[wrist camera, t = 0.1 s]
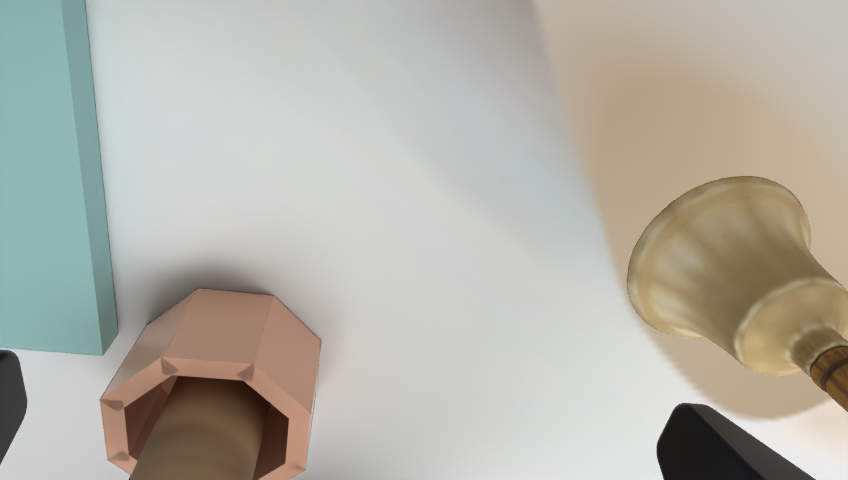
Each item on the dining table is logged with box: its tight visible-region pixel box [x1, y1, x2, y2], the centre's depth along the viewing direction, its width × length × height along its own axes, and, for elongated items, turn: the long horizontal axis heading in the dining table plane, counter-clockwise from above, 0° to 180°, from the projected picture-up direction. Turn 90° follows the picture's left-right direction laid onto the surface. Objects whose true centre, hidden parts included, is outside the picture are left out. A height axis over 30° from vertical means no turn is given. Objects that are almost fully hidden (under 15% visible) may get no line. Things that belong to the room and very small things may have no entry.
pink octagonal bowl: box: [100, 288, 321, 480], centre depth 23 cm, size 8×8×4 cm
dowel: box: [129, 376, 270, 480], centre depth 20 cm, size 4×4×10 cm
